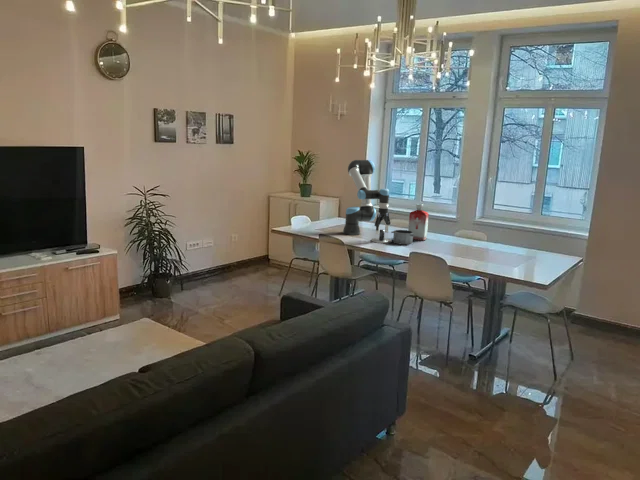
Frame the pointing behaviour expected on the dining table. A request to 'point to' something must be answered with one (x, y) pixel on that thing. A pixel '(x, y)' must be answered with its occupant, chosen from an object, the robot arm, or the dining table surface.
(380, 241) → the lid
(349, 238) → the dining table surface
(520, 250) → the dining table surface
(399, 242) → the pot
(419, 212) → the bottle
